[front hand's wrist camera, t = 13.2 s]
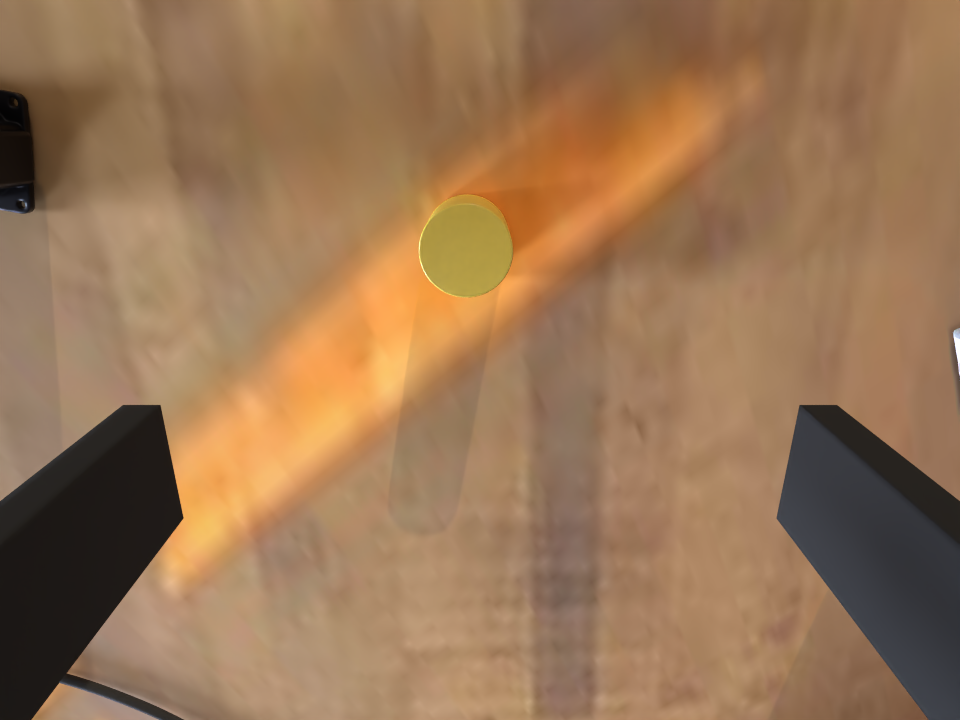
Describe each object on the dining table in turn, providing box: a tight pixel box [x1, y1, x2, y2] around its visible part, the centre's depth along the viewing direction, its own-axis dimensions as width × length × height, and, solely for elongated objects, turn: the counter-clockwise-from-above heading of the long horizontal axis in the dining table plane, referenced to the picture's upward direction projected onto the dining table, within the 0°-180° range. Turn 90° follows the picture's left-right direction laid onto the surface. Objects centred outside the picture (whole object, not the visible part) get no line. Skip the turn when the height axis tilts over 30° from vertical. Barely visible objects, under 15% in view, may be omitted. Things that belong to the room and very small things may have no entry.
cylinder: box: [419, 194, 513, 297], centre depth 34 cm, size 5×5×5 cm
